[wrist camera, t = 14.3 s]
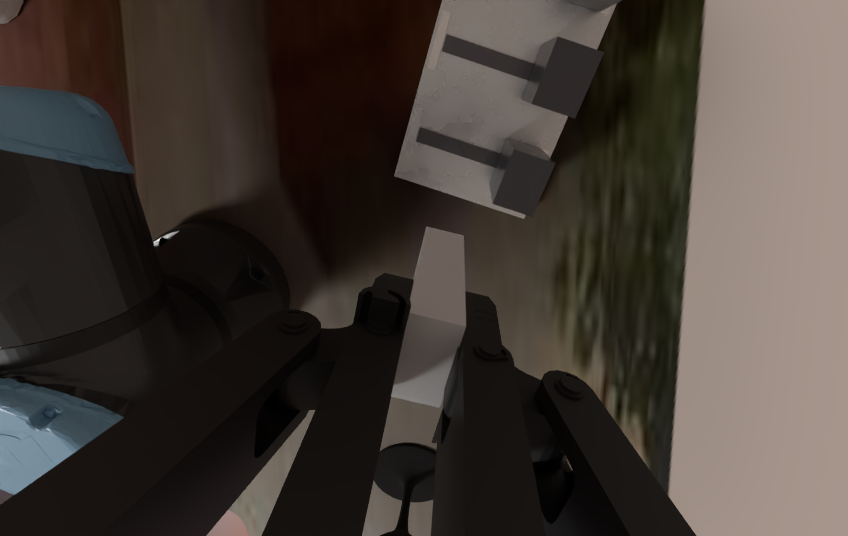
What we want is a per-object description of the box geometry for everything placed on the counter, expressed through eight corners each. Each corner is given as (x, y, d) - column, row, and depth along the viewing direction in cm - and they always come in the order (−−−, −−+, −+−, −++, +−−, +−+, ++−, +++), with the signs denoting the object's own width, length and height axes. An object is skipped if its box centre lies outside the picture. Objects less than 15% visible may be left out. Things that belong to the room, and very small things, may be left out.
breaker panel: (397, 171, 38) (379, 195, 31) (481, -133, 29) (484, -208, 21) (521, 212, 39) (533, 245, 31) (643, -75, 29) (704, -129, 22)
